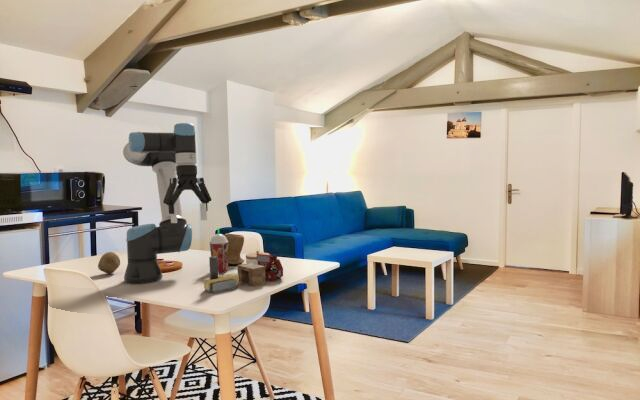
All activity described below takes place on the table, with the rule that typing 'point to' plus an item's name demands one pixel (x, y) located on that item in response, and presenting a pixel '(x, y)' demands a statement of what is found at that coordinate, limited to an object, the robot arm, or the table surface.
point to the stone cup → (234, 248)
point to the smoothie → (220, 251)
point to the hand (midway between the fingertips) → (189, 221)
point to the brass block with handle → (217, 274)
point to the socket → (251, 274)
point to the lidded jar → (253, 257)
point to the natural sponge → (109, 262)
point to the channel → (223, 286)
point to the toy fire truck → (270, 266)
